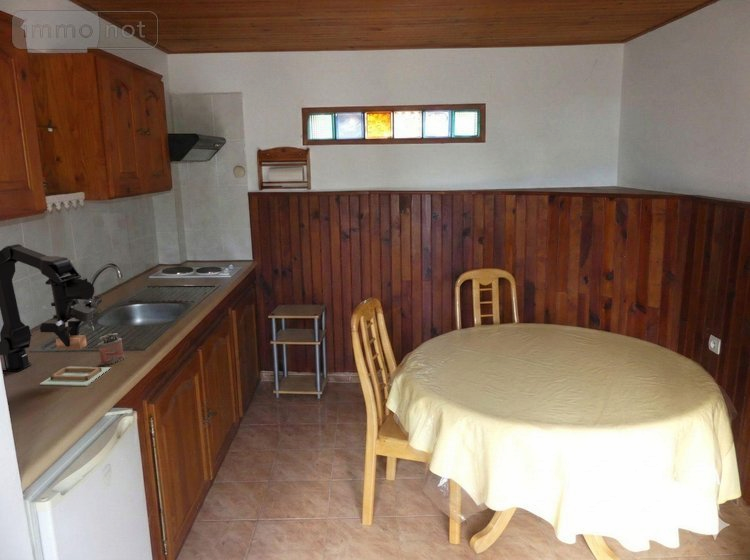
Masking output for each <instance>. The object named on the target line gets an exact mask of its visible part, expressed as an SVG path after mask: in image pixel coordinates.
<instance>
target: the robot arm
mask: <svg viewBox="0 0 750 560" xmlns="http://www.w3.org/2000/svg"><path fill="white" fill-rule="evenodd" d="M18 262H20V263H22V264H25V265H28V266H29V267H32V268H35V269H38V270H39V271H40V273H41V274H42V275H43V276H45V277H47V278H48V279H47V280H45V281H46V282H45V285H50V287H51V292H52V298H53V302H50V305H51V307H54V309H55V310H54V311H55V314H54V315H53V319H48V320H46V321H44V322H41V324H40V325H39V330H40V333H54V335H56V337H57V338H58V337H59V338H60V340H61V341H62V342H63V343H64V344H65V346H67V347H69V346H70V338H69V335H80V330H81V329H80V328H81V326H82V324H83V323H85V322H88V321H89V320H92V319H93V315H94V314H95V313H96V312H97V310H96V306H95V303H94V302H92V301H90V299H92V298H93V297H94V295H95V286H94V285H93V284H92V282H90V281H88V278H87V277H82V275H81V274H80V271H78V270H77V269H76V267H75V266H74V263H72V262H71V260H70V259H69V258H68V257H65V256H64V257H63V256H59V255H57V256H54V255H52V256H51V255H46V254H44V253H41V252H39V251H35V250H33V249H30V248H28V247H24V246H23V245H21V244H18V243H16V244H10V245H6V246H5V247H3V248H2V249H1V250H0V314H1V318H2V323H3V325H2V327H1V330H0V356H2V357H3V358H2V359H3V362H4V368H3V369H6V371H5V372H8V371H7V370H10V371H9V372H21V371H23V370H24V369H26V368H27V366H28V365H30V364H31V365H32V362H29V356H28V353H27V350H26V349H27V348H28V349H29V348H30V347H31V340H32V334H31V330H30V325H28V324H27V325H26V324H25V323H24V322H22V320H21V315H20V311H19V307H18V301H17V298H16V292H15V287H14V283H13V278H14V276H15V273H16V264H17V263H18ZM79 300H82V301H83V300H84V301H89V302H87V303H86V304H85V303H83V304H80V303H79ZM31 365H30V366H31ZM25 367H26V368H25ZM28 367H29V366H28ZM23 368H24V369H23ZM22 369H23V370H22ZM20 370H21V371H20Z"/></svg>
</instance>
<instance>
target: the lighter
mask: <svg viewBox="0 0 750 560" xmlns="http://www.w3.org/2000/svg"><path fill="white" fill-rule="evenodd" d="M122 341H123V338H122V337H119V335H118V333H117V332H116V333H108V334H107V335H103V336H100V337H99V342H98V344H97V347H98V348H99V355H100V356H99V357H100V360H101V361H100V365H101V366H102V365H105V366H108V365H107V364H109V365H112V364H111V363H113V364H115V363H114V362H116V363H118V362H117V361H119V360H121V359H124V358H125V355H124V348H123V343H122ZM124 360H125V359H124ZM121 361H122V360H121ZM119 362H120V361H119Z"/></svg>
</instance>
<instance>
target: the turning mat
mask: <svg viewBox="0 0 750 560" xmlns="http://www.w3.org/2000/svg"><path fill="white" fill-rule="evenodd" d="M110 368H111V369H112V367H110V366H109V367H106V366H103V367H102V366H65V367H63V368H61V369H59V370H58V371H56V372H54V373H53V374H51V375H50V376H49V377H48V378H47V379H45V380H44V381H42V382H40V383H39V385H40V386H71V387H72V386H74V387H80V386H82V387H87V386H89V385H90V384H92V383H93V382H94V381H96V380H97V379H99V378H100V377H101V375H102V374H103V373H104V374H106V373H107V372H109V371H110V370H111V369H110ZM109 369H110V370H109ZM108 370H109V371H108ZM106 371H107V372H106ZM105 372H106V373H105ZM104 374H103V375H104ZM103 375H102V376H103ZM99 376H100V377H99ZM98 377H99V378H98ZM96 378H97V379H96ZM95 379H96V380H95ZM91 382H92V383H91Z"/></svg>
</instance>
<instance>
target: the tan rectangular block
mask: <svg viewBox="0 0 750 560" xmlns="http://www.w3.org/2000/svg"><path fill="white" fill-rule="evenodd" d="M69 338H70V346H69V347H67V346H65V344H64V343H63V342H62V341H61V340H60V338H59V337H58V336H57V338H55V344H56V349H57V350H82V349H83V348H85V347H87V345H88V343H87V337H86V335H85V334H84V335H83V334H82V335H81V334H79V335H70V334H69Z"/></svg>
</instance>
